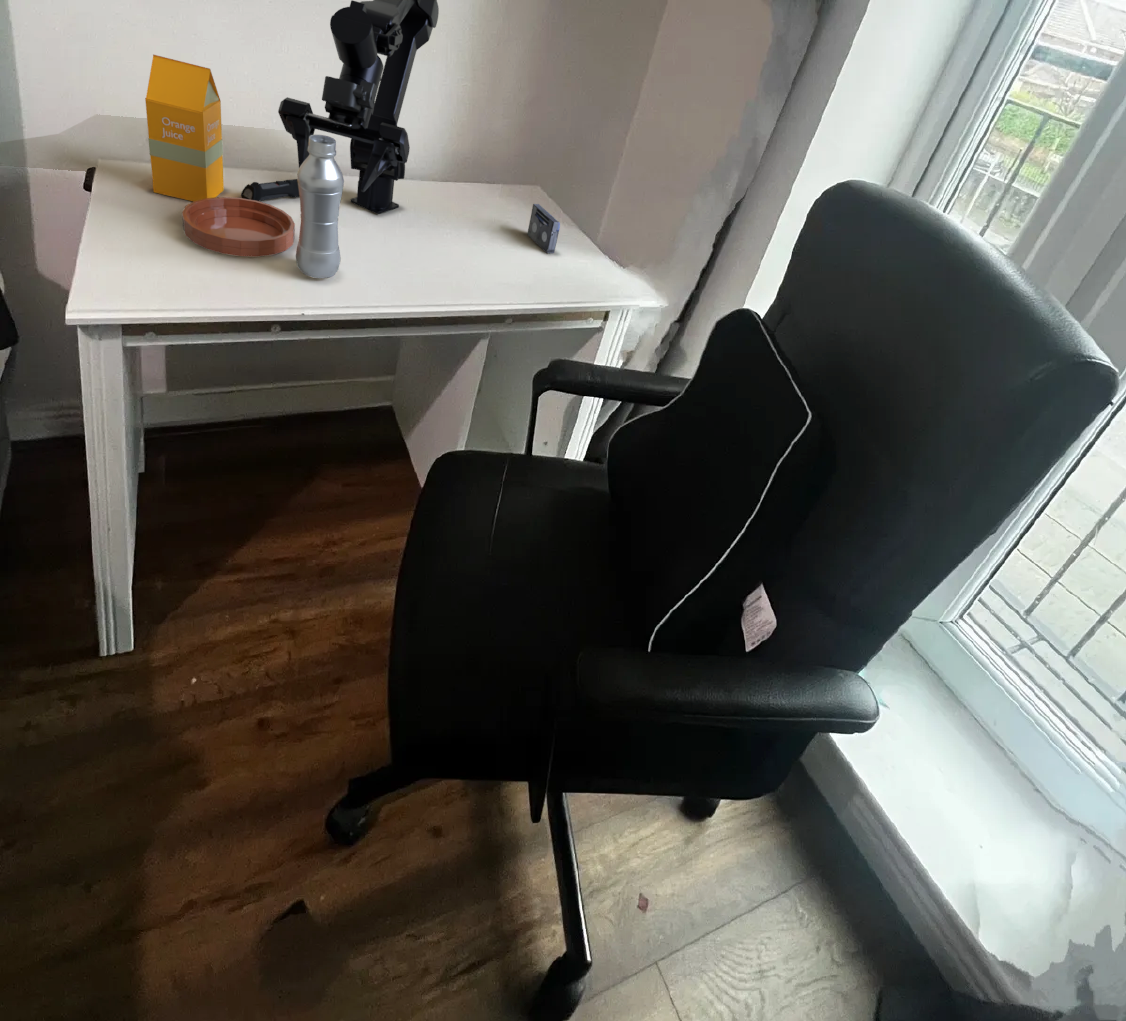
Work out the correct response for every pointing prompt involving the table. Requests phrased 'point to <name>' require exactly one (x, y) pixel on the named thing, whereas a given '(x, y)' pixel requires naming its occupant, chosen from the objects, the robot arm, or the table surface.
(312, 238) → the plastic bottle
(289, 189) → the electric trimmer
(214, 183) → the orange juice
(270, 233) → the bowl
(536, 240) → the mini dv tape
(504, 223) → the table surface
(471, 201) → the table surface
